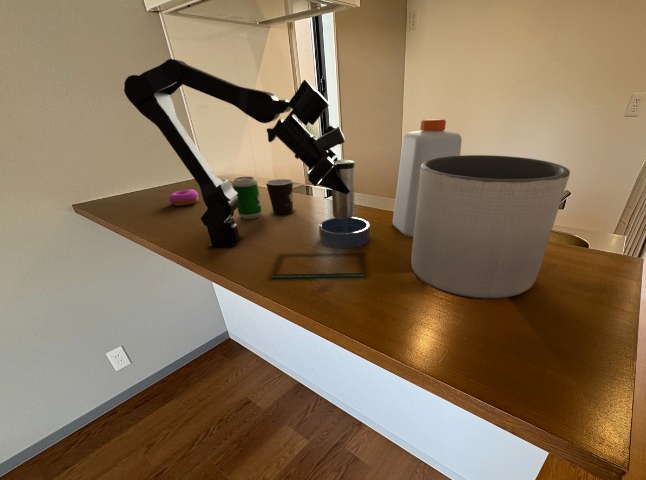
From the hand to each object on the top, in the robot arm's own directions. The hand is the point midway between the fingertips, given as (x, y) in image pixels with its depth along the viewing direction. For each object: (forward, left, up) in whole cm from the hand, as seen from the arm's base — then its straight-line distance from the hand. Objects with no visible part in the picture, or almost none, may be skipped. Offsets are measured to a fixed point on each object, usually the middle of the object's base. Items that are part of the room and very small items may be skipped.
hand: (348, 190), depth 79 cm
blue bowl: (-1, 0, -13) cm, 13 cm away
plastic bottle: (+21, +8, -14) cm, 26 cm away
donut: (-62, +40, -14) cm, 75 cm away
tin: (-1, 0, -6) cm, 7 cm away
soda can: (-33, +23, -14) cm, 42 cm away
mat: (-7, -15, -13) cm, 21 cm away
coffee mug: (-22, +28, -14) cm, 38 cm away
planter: (+26, -20, -14) cm, 36 cm away
